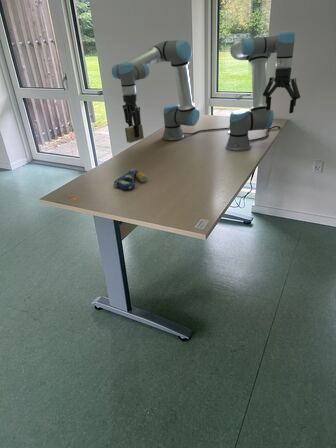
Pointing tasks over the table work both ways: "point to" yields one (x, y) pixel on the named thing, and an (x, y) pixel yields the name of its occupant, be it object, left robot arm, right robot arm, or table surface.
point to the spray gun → (129, 179)
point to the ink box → (133, 134)
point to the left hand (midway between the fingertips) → (134, 136)
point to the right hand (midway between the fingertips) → (279, 111)
